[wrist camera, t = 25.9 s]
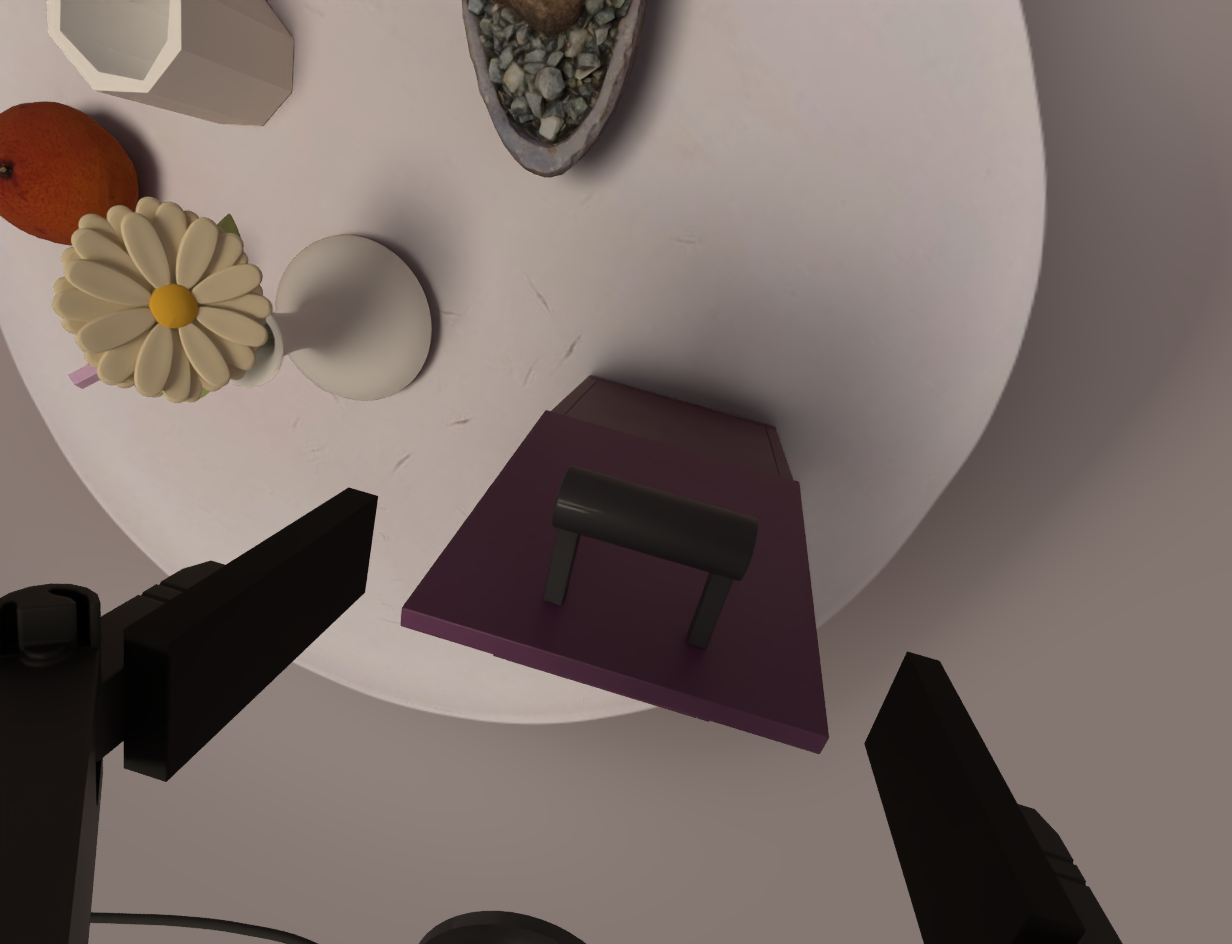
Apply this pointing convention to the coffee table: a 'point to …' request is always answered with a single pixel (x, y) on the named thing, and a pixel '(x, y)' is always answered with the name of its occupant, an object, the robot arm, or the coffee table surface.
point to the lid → (639, 579)
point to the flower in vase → (235, 308)
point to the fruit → (60, 170)
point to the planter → (552, 72)
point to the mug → (180, 54)
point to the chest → (674, 433)
